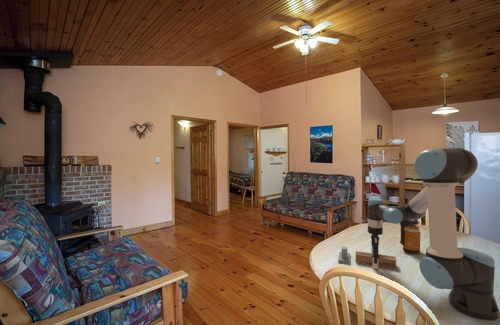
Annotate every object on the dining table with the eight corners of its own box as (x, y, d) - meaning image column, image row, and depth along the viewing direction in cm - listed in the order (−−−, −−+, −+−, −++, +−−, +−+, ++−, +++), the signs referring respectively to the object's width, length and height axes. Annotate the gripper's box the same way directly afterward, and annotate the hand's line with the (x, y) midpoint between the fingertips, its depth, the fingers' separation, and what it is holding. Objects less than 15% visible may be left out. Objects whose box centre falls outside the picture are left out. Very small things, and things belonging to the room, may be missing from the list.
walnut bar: (396, 269, 132) (396, 260, 131) (355, 263, 140) (355, 254, 140) (394, 265, 136) (395, 256, 136) (355, 259, 144) (355, 251, 144)
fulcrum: (349, 264, 138) (349, 252, 138) (338, 262, 140) (338, 250, 140) (350, 255, 149) (350, 244, 148) (339, 253, 151) (339, 243, 151)
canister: (422, 254, 148) (423, 222, 146) (402, 253, 150) (403, 221, 149) (416, 248, 156) (416, 217, 155) (396, 247, 159) (397, 217, 157)
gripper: (385, 234, 124) (384, 275, 125) (380, 220, 147) (380, 254, 148) (368, 232, 127) (368, 272, 128) (367, 219, 150) (366, 252, 151)
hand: (374, 263), depth 138 cm, fingers open, 13 cm apart
